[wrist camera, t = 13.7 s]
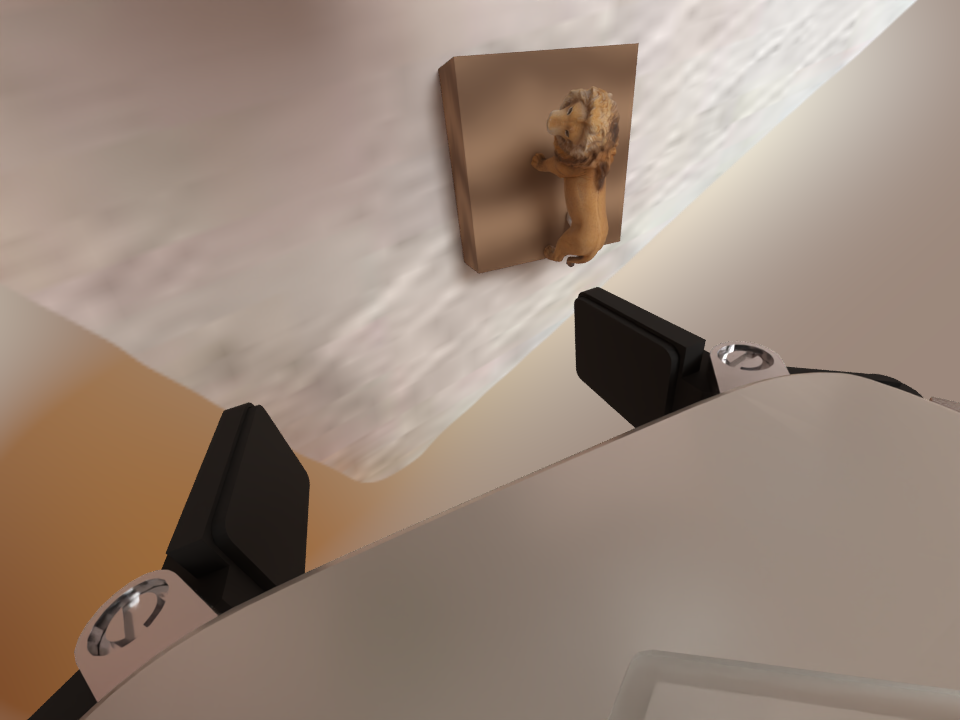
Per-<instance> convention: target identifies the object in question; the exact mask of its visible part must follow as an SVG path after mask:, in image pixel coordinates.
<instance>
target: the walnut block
mask: <svg viewBox="0 0 960 720" xmlns="http://www.w3.org/2000/svg"><path fill="white" fill-rule="evenodd" d="M638 44H639V43H637V44H623V45H609V46H595V47H581V48H568V49H554V50H540V51H526V52H512V53H499V54H485V55H471V56H457V57H453V58H452V59H450V60H449V61H448V62H447V63H445V64H444V65H443V66H441V67H440V68H439V69H438V71H439V78H440V86H441V93H442V101H443V108H444V116H445V123H446V130H447V138H448V145H449V153H450V160H451V168H452V175H453V182H454V190H455V197H456V205H457V212H458V220H459V227H460V235H461V242H462V249H463V257H464V262H465V263H466V264H467V265H468V266H470V267H471V268H472V269H474V270H475V271H476V272H477V273H484V272H488V271H492V270H497V269H501V268H505V267H510V266H514V265H518V264H523V263H527V262H532V261H536V260H540V259H545V258H546V257H545V255H544V250H545V248H546V247H547V246H548V245H551V246H554V248H555V247H556V244H557V242H558V240H559V238H560V237H561V236H562V235H563V233H564V232H565V231H567V230H568V229H569V228H570V225H569V223H568V221H567V213H568V210H567V207H566V202H565V195H564V178H559V177H558V176H557V175H555V174H553V173H551V172H543V171H538V170H537V169H535V168H534V167H533V166H532V165H531V162H532V158H533V156H535V154H536V153H538V154H540V153H542V154H543V155H544V156H545V158H546V159H549V158H551V157H553V156H555V153H554V149H555V146H554V145H553V143H554V135H550V134H549V133H548V132H547V127H546V122H547V119H548V118H549V115H550V113H551V112H552V111H553V110H559V109H560V106H561V104H562V103H563V100H564V98H565V97H566V96H567V95H568V93H569V92H570V91H571V90H577V89H584V90H587V89H590V88H591V87H592V86H595V87H597V88H600V89H602V90H605V91H606V92H607V93H611V94H612V100H613V101H615V102H616V103H617V107H618V113H619V115H620V120H619V134H618V136H619V141H618V143H619V144H618V146H617V147H616V155H615V156H614V157H613V158H614V161H613V163H612V164H611V166H610V171H609V173H608V175H607V176H606V215H607V221H608V234H607V237H606V241H605V243H604V245H606V244H610V243H614V242H619V241H620V235H621V224H622V214H623V203H624V192H625V182H626V171H627V161H628V150H629V139H630V129H631V118H632V108H633V97H634V86H635V76H636V65H637V55H638Z"/></svg>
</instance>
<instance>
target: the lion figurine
mask: <svg viewBox="0 0 960 720" xmlns="http://www.w3.org/2000/svg"><path fill="white" fill-rule="evenodd" d="M619 120H620V115H619V113H618V107H617V103H616V102H615V101H613V100H612V94H611V93H607V92H606V91H605V90H602V89H600V88H597V87H595V86H592V87H591V88H590V89H587V90H584V89H577V90H571V91H570V92H569V93H568V95H567V96H566V97H565V98H564V100H563V103H562V104H561V106H560V109H559V110H553V111H552V112H551V113H550V115H549V118H548V119H547V122H546V127H547V132H548V133H549V134H550V135H554V143H553V145H554V146H555V149H554V153H555V156H553V157H551V158H549V159H546V158H545V156H544V155H543V154H542V153H540V154H538V153H536V154H535V156H533V158H532V162H531V165H532V166H533V167H534V168H535V169H537V170H538V171H543V172H551V173H553V174H555V175H557V176H558V177H559V178H564V195H565V202H566V207H567V210H568V213H567V221H568V223H569V225H570V228H569V229H568V230H567V231H565V232H564V233H563V235H562V236H561V237H560V238H559V240H558V242H557V244H556V247H555V248H554V246H551V245H548V246H547V247H546V248H545V250H544V255H545V257H546V258H548V259H550V260H553V261H558V262H560V261H562V260H563V257H564V256H566V255H577V256H576V257H568V259H567V265H568V266H569V267H572V266H574V263H577V264H580V263H586V262H588V261H590V260H591V259H592V258H593V257H594V256H595V255H596V254H597V252H598V251H599V250H600V249H601V248H602V247H603V245H604V243H605V241H606V237H607V234H608V221H607V215H606V176H607V175H608V173H609V171H610V166H611V164H612V163H613V161H614V158H613V157H614V156H615V155H616V147H617V146H618V144H619V143H618V141H619V136H618V134H619Z"/></svg>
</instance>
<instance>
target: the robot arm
mask: <svg viewBox="0 0 960 720" xmlns="http://www.w3.org/2000/svg"><path fill="white" fill-rule="evenodd" d="M574 313H575V344H576V345H575V349H576V371H577V374H578V376H579V378H580V379H581V380H582V381H583V382H584V383H586V384H587V385H588V386H589V387H590V388H591V389H592V390H593V391H595V392H596V393H597V394H598V395H599V396H600V397H601V398H603V399H604V400H605V401H606V402H607V403H608V404H609V405H610V406H611V407H612V408H614V409H615V410H616V411H617V412H618V413H619V414H620V415H621V416H622V417H624V418H625V419H626V420H627V421H628V422H629V423H630V424H632V425H633V426H634V427H635V429H632V430H630V431H628V432H625V433H623V434H621V435H618V436H616V437H614V438H611V439H609V440H607V441H604V442H602V443H600V444H597V445H595V446H593V447H590V448H588V449H586V450H583V451H581V452H579V453H577V454H574V455H572V456H570V457H567V458H565V459H563V460H560V461H558V462H556V463H553V464H551V465H549V466H546V467H544V468H542V469H539V470H537V471H535V472H532V473H530V474H528V475H526V476H523V477H521V478H519V479H517V480H514V481H512V482H510V483H507V484H505V485H503V486H500V487H498V488H496V489H494V490H491V491H489V492H487V493H484V494H482V495H480V496H477V497H475V498H473V499H471V500H468V501H466V502H464V503H461V504H459V505H457V506H455V507H452V508H450V509H448V510H446V511H443V512H441V513H439V514H437V515H434V516H432V517H430V518H427V519H426V520H423V521H421V522H418V523H416V524H414V525H412V526H410V527H407V528H405V529H403V530H400V531H398V532H396V533H393V534H391V535H389V536H387V537H385V538H382V539H380V540H378V541H376V542H373V543H371V544H369V545H366V546H364V547H362V548H360V549H357V550H355V551H353V552H351V553H348V554H346V555H344V556H342V557H340V558H337V559H335V560H333V561H331V562H329V563H326V564H324V565H322V566H320V567H318V568H316V569H313V570H311V571H309V572H307V573H305V558H306V539H307V522H308V505H309V487H310V484H309V483H310V482H309V477H308V475H307V472H306V471H305V469H304V468H303V466H302V465H301V463H300V462H299V460H298V459H297V457H296V456H295V454H294V453H293V451H292V450H291V448H290V447H289V445H288V444H287V442H286V441H285V439H284V438H283V436H282V435H281V433H280V432H279V430H278V428H277V427H276V425H275V424H274V422H273V421H272V419H271V418H270V416H269V415H268V413H267V412H266V410H265V409H264V408H263V407H262V406H261V405H257V406H254V405H253V404H252V403H246V404H243V405H240V406H237V407H233V408H230V409H227V410H225V411H224V412H223V413H222V416H221V418H220V421H219V423H218V426H217V428H216V431H215V433H214V436H213V438H212V441H211V443H210V445H209V448H208V450H207V453H206V455H205V458H204V460H203V463H202V465H201V468H200V470H199V472H198V475H197V477H196V480H195V482H194V485H193V487H192V490H191V492H190V495H189V497H188V499H187V502H186V505H185V507H184V509H183V512H182V514H181V517H180V519H179V522H178V524H177V527H176V529H175V532H174V534H173V537H172V539H171V541H170V544H169V546H168V549H167V551H166V554H167V557H166V560H165V562H164V565H163V567H162V569H161V570H156V571H153V572H150V573H147V574H145V575H143V576H141V577H139V578H137V579H135V580H134V581H132V582H130V583H128V584H127V585H126V586H124V587H123V588H122V589H121V590H119V591H118V592H116V593H115V594H114V595H113V596H112V597H111V598H110V599H109V600H108V601H107V602H106V603H104V605H102V606H101V607H100V608H99V610H98V611H97V612H96V613H95V614H94V616H93V617H92V618H91V619H90V621H89V622H88V623H87V625H86V627H85V628H84V630H83V632H82V633H81V635H80V637H79V639H78V642H77V645H76V649H75V652H74V653H75V660H76V664H77V665H78V667H79V670H78V671H77V672H76V673H75V674H74V675H73V676H72V677H71V678H70V679H69V680H68V681H67V682H66V683H65V684H64V685H63V686H62V687H61V688H60V689H59V690H58V691H57V692H56V693H55V694H53V696H51V697H50V699H48V700H47V701H46V702H45V703H44V704H43V705H42V706H41V707H40V708H39V709H38V710H37V711H36V712H35V713H34V714H33V715H32V716H31V717H30V718H29V719H28V720H960V403H959V402H954V401H949V400H945V399H940V398H935V397H931V398H930V400H926V399H924V398H923V397H922V396H921V395H920V394H919V393H918V392H917V391H916V390H914V389H912V388H911V387H909V386H907V385H905V384H903V383H901V382H900V381H898V380H896V379H894V378H891V377H888V376H884V375H879V374H864V373H852V372H840V371H829V370H817V369H806V368H795V367H786V366H785V364H784V362H783V360H782V359H781V357H780V356H779V355H778V354H777V353H776V352H774V351H773V350H771V349H769V348H767V347H764V346H762V345H759V344H754V343H749V342H741V341H733V342H725V343H720V344H718V345H716V346H714V347H713V348H712V349H711V351H710V353H709V352H707V351H705V350H704V346H705V341H706V340H705V339H703V338H701V337H699V336H697V335H694V334H692V333H690V332H688V331H686V330H684V329H682V328H680V327H678V326H676V325H674V324H672V323H670V322H668V321H666V320H664V319H662V318H660V317H658V316H656V315H654V314H652V313H650V312H648V311H646V310H644V309H642V308H640V307H638V306H636V305H634V304H632V303H630V302H628V301H626V300H624V299H622V298H620V297H618V296H616V295H614V294H611V293H610V292H608V291H606V290H603V289H602V288H599V287H596V288H593V289H590V290H587V291H584V292H581V293H580V294H579V296H578V298H577V299H576V300H575V302H574Z"/></svg>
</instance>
